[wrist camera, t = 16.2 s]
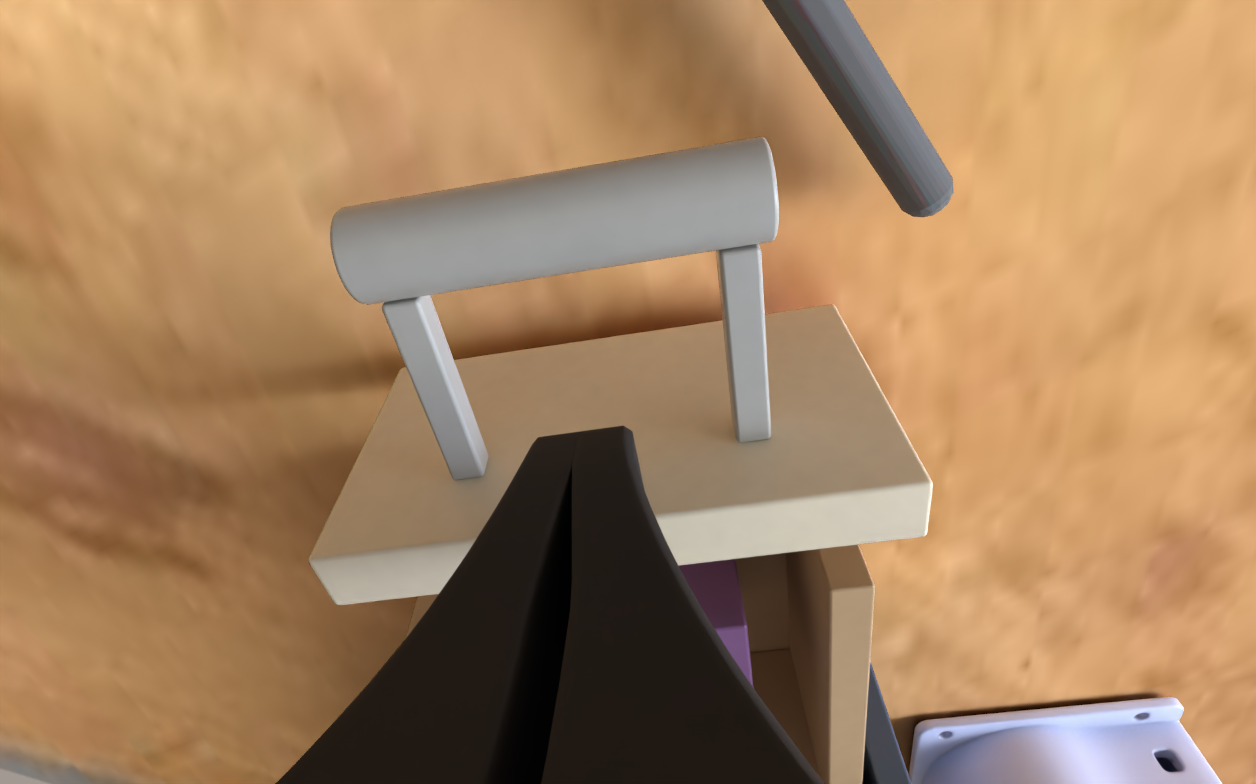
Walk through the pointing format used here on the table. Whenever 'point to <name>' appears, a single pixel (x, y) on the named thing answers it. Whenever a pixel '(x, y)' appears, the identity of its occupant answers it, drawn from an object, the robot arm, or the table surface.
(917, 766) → the robot arm
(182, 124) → the table surface
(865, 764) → the cabinet
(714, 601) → the block
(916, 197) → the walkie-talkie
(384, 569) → the drawer
